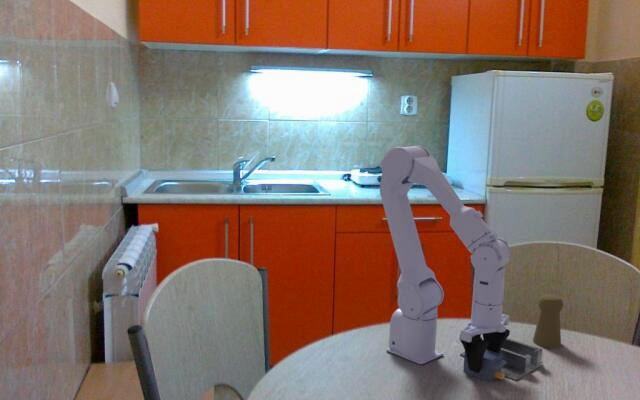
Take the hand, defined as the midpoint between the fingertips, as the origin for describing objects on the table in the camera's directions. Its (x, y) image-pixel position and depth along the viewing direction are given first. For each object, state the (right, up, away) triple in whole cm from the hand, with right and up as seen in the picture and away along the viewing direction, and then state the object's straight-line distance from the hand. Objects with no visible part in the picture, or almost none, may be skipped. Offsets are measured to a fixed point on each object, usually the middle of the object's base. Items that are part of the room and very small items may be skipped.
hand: (482, 366), depth 122 cm
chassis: (+6, -1, +5) cm, 8 cm away
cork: (+19, +1, +17) cm, 26 cm away
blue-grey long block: (0, -2, 0) cm, 2 cm away
